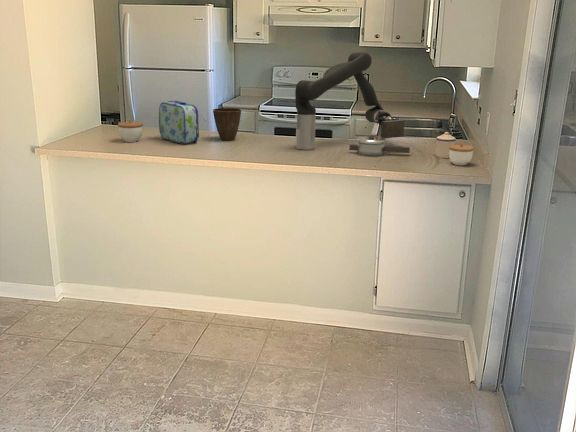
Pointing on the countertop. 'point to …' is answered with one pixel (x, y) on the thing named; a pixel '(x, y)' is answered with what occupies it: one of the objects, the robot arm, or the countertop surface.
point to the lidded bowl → (130, 131)
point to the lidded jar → (460, 154)
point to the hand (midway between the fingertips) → (391, 123)
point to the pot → (376, 149)
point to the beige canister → (444, 145)
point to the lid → (386, 132)
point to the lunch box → (178, 122)
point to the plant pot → (227, 122)
